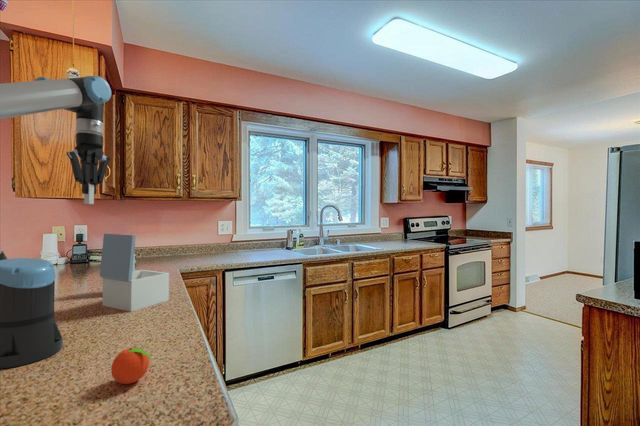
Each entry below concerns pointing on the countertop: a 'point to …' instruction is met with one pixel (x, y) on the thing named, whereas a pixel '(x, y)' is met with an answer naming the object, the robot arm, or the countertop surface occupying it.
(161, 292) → the storage box
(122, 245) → the lid
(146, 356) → the clementine
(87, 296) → the countertop surface
